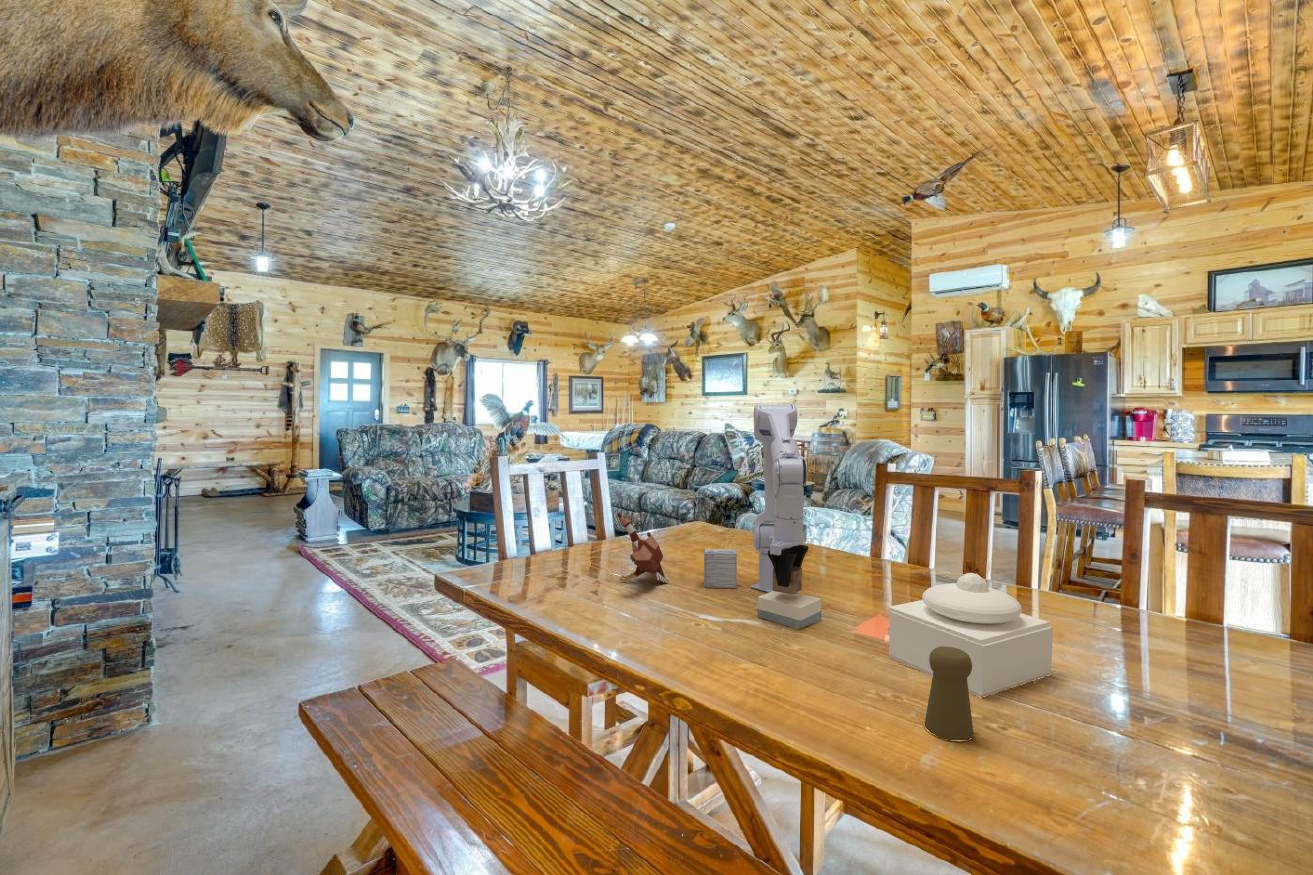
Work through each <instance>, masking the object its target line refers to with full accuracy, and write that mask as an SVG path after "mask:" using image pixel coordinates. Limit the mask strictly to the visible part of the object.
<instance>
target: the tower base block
mask: <svg viewBox="0 0 1313 875" xmlns="http://www.w3.org/2000/svg"><path fill="white" fill-rule="evenodd" d="M757 617H758V618H761V619H764V620H767V621H770V622H773V623H776V624H780V625H783V626H786V627H789V628H792V629H795V630H799V629H802V628H805V627H807V626H810V625H812V624H813V625H814V624H815V623H818V622H819V621H822V610H821V611H820V612H818V613H816V614H813V615H811V616H809V617H807V618H805V619H803V620H801V621H800V620H797V619H793V618H789V617H786V616H782V615H778V614H775V613H771V612H767V611H764V610H760V609H758V608H757Z"/></svg>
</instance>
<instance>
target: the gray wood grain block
mask: <svg viewBox="0 0 1313 875" xmlns="http://www.w3.org/2000/svg"><path fill="white" fill-rule="evenodd" d="M703 550H704V551H703V588H706V589H708V588H710V589H713V588H715V589H716V588H717V589H737V587H738V586H737V585H738V582H737V580H738V578H737V577H738V576H737V573H738V572H737V571H738V570H737V569H738V568H737V567H738V564H737V563H738V562H737V560H738V559H737V558H738V553H737V552H738V551H737V549H733V548H732V549H731V548H705V549H703Z"/></svg>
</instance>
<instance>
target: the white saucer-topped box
mask: <svg viewBox="0 0 1313 875" xmlns="http://www.w3.org/2000/svg"><path fill="white" fill-rule="evenodd" d="M1022 608H1023V607H1022V605H1021V604H1020V602H1019V601H1018V600H1017V599H1015V597H1013V596H1011V595H1010V594H1008V593H1006V592H1003V591H1001V590H998V589H995V588H992V587H988V583H987V581H986V579H984V578H983V577H982V576H980V575H979V574H978V573H974V572H966V573H964V574H963V575H961V576H959V577H958V578H957V581H956V583H955V582H952V583H951V582H950V583H942V584H937V585H933V586H931V587H929V588H927V589H925V591H924V592H923V593H922V598H921V599H920V600H916V601H915V600H914V601H910V602H905V603H901V604H896V605H891V606H888V607H887V612H889V632H888V633H889V635H888V636H889V638H888V640H889V641H888V642H889V643H888V646H889V647H888V658H890V659H893V660H895V661H897V662H899V663H902V664H903V665H906V666H908V667H910V666H911V668H912V667H913V668H912V669H915V670H916V671H919V670H920V671H919V672H921V671H922V672H921V673H923V672H924V673H923V674H926V675H928V676H930V675H931V677H932V676H933V671H932V669H931V667H930V663H929V656H930V653H931V652H932V650H933V649H934V648H937V647H942V646H945V647H953V648H957V649H960V650H962V651H964V652H966V653H967V654H968V655H969V657H970V658H971V662H972V671H971V674H970V675H969V676H968V677H967V682H968V691H969V694H970V693H971V694H970V695H972V694H973V696H974V695H978V696H980V697H983V696H987V695H991V696H993V695H992V694H994V693H997V694H999V693H998V692H1000V691H1003V690H1006V689H1009V688H1011V687H1014V686H1017V685H1020V684H1023V683H1025V682H1028V681H1031V680H1035V679H1038V678H1041V677H1044V676H1046V675H1049V674H1052V659H1053V658H1052V657H1053V656H1052V655H1053V632H1054V631H1053V628H1054V627H1053V626H1050V621H1048V620H1044V619H1041V618H1037V617H1035V616H1032V615H1028V614H1024V613H1022V611H1023V609H1022ZM1009 690H1010V689H1009ZM1006 691H1007V690H1006ZM1003 692H1004V691H1003ZM1000 693H1001V692H1000ZM994 695H995V694H994Z"/></svg>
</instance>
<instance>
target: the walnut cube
mask: <svg viewBox="0 0 1313 875" xmlns="http://www.w3.org/2000/svg"><path fill="white" fill-rule="evenodd" d="M802 577H803V567H802V566H801V567H795V566H792V570H791V578H790V583H789V586H788V587H783V586H778V584H777V579H776V575H775V571H774V569H773V591H775V592H781V593H787V594H793V595H794V594H795V593H799V591H801V590H802V586H803V584H802V581H803V578H802Z"/></svg>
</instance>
